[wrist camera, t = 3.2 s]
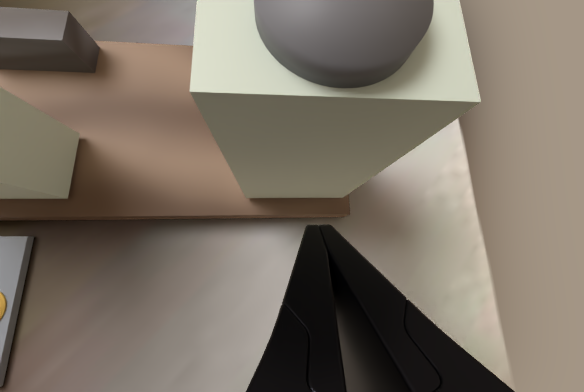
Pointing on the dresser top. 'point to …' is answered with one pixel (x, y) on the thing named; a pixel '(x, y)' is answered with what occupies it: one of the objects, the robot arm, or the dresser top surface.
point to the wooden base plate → (126, 128)
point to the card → (11, 290)
